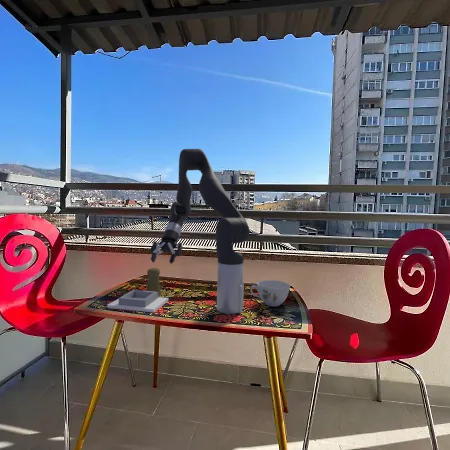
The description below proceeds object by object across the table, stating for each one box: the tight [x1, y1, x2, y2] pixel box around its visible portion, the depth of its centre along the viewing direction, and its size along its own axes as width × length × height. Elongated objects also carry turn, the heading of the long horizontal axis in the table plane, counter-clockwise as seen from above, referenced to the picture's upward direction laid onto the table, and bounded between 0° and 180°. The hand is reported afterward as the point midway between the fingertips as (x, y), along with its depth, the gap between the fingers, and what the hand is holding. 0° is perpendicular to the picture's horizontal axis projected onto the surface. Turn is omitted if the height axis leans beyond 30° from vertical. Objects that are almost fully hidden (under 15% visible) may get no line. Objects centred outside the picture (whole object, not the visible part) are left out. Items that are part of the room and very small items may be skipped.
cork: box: [146, 267, 162, 297], centre depth 115 cm, size 6×6×11 cm
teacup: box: [250, 279, 291, 307], centre depth 107 cm, size 15×12×8 cm
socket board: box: [106, 289, 169, 313], centre depth 104 cm, size 18×13×4 cm
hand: (161, 262), depth 122 cm, fingers open, 8 cm apart
